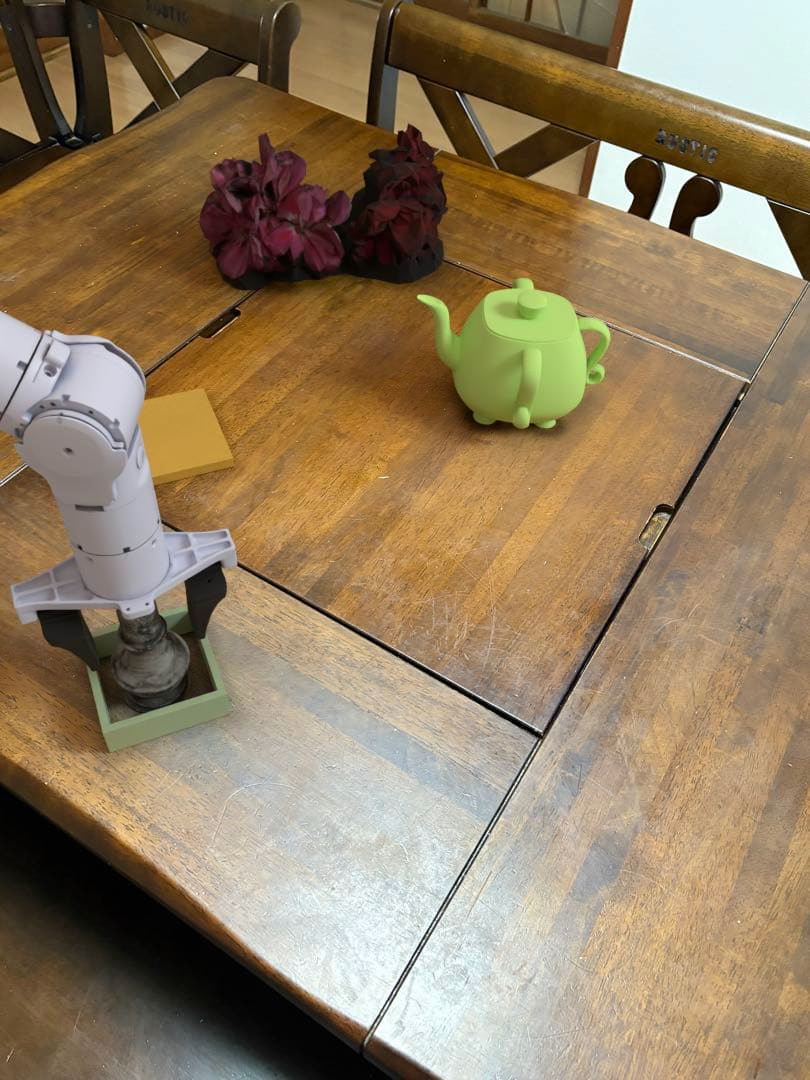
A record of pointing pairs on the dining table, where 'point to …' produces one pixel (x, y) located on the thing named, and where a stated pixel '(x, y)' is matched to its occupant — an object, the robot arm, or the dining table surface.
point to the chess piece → (150, 663)
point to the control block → (182, 437)
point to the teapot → (519, 355)
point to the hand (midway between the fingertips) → (146, 644)
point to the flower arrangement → (326, 218)
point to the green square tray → (166, 717)
